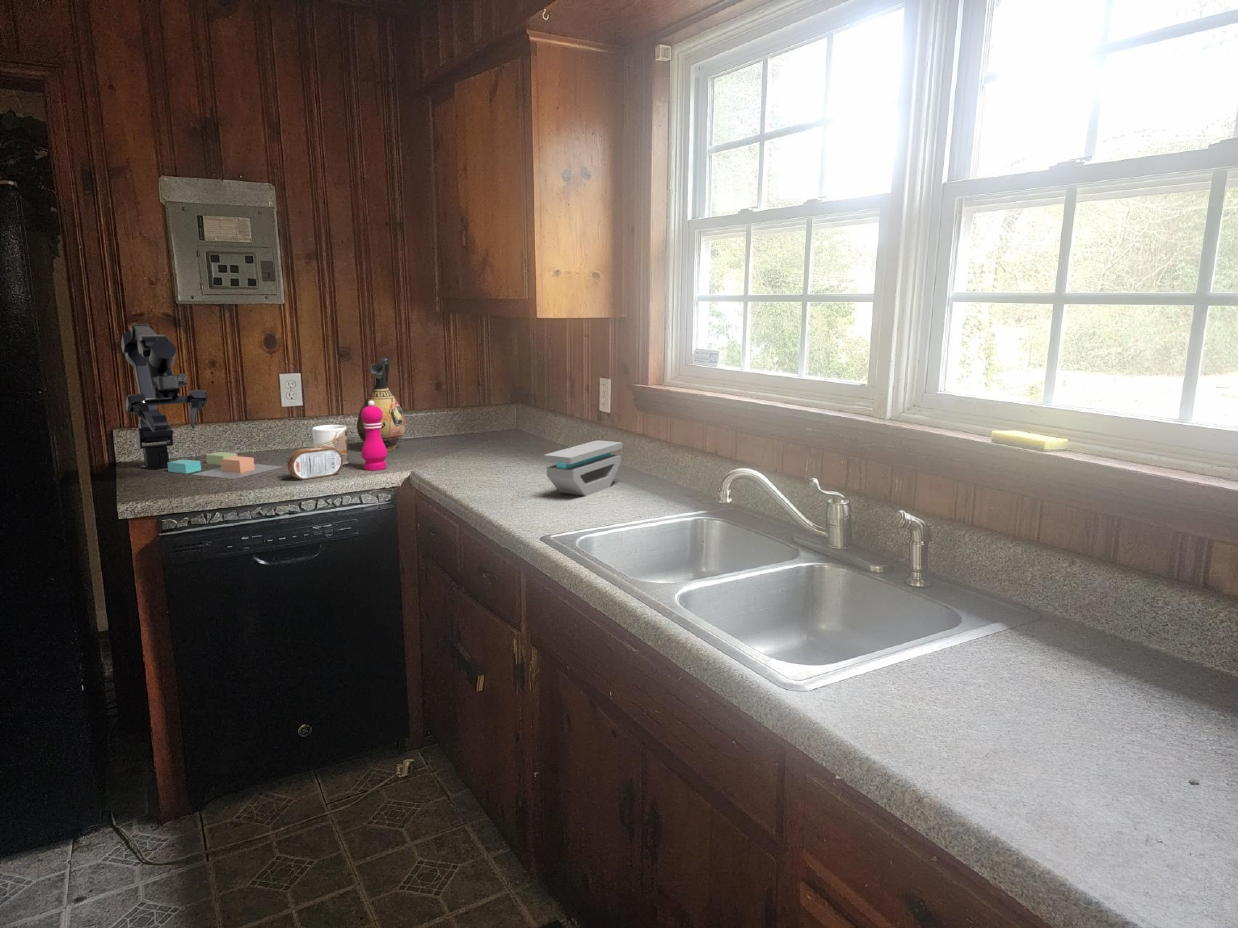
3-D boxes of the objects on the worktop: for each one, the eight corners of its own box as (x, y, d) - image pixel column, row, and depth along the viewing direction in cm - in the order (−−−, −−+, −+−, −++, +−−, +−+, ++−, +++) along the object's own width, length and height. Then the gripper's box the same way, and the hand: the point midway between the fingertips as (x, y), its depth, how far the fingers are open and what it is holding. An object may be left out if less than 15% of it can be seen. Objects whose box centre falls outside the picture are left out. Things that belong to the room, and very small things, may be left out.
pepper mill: (380, 471, 232) (376, 402, 228) (357, 470, 234) (353, 401, 230) (392, 466, 239) (388, 399, 235) (370, 465, 241) (365, 398, 237)
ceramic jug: (399, 453, 260) (394, 360, 255) (352, 453, 261) (345, 360, 255) (413, 444, 277) (408, 356, 271) (368, 444, 277) (363, 356, 272)
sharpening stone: (597, 479, 221) (597, 440, 218) (622, 482, 217) (622, 442, 215) (544, 498, 199) (543, 454, 197) (571, 501, 195) (570, 457, 193)
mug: (305, 464, 242) (303, 428, 240) (333, 457, 253) (331, 423, 251) (333, 467, 238) (331, 430, 236) (360, 460, 249) (358, 424, 247)
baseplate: (191, 476, 226) (191, 474, 226) (242, 464, 242) (242, 462, 242) (234, 480, 220) (233, 478, 220) (283, 468, 237) (283, 466, 236)
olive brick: (207, 466, 242) (205, 454, 241) (220, 463, 247) (219, 452, 246) (224, 467, 239) (223, 456, 239) (238, 464, 244) (236, 453, 243)
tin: (340, 472, 231) (338, 443, 229) (345, 474, 229) (343, 445, 227) (288, 480, 220) (285, 450, 219) (293, 482, 218) (290, 451, 217)
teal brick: (168, 474, 230) (167, 462, 230) (183, 471, 235) (182, 459, 234) (186, 476, 228) (185, 464, 227) (201, 472, 232) (200, 461, 231)
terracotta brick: (222, 471, 230) (220, 459, 230) (236, 467, 235) (235, 456, 234) (240, 472, 228) (239, 460, 227) (254, 469, 232) (253, 457, 232)
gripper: (124, 364, 205) (136, 419, 201) (204, 361, 216) (217, 412, 212) (120, 385, 213) (132, 438, 209) (198, 381, 225) (210, 431, 221)
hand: (174, 429), depth 213 cm, fingers open, 9 cm apart
